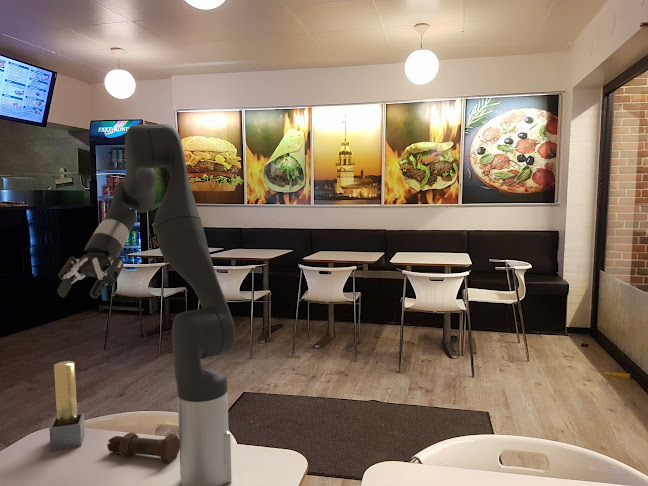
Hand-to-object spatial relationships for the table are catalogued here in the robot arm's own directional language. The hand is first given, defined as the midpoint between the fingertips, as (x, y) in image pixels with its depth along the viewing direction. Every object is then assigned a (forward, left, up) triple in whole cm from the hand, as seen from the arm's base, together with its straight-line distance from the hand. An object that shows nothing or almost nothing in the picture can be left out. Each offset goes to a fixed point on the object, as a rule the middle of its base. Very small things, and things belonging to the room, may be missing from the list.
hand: (76, 295), depth 110 cm
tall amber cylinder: (+3, +3, -33) cm, 33 cm away
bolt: (-13, +15, -33) cm, 39 cm away
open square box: (+3, +3, -33) cm, 33 cm away
